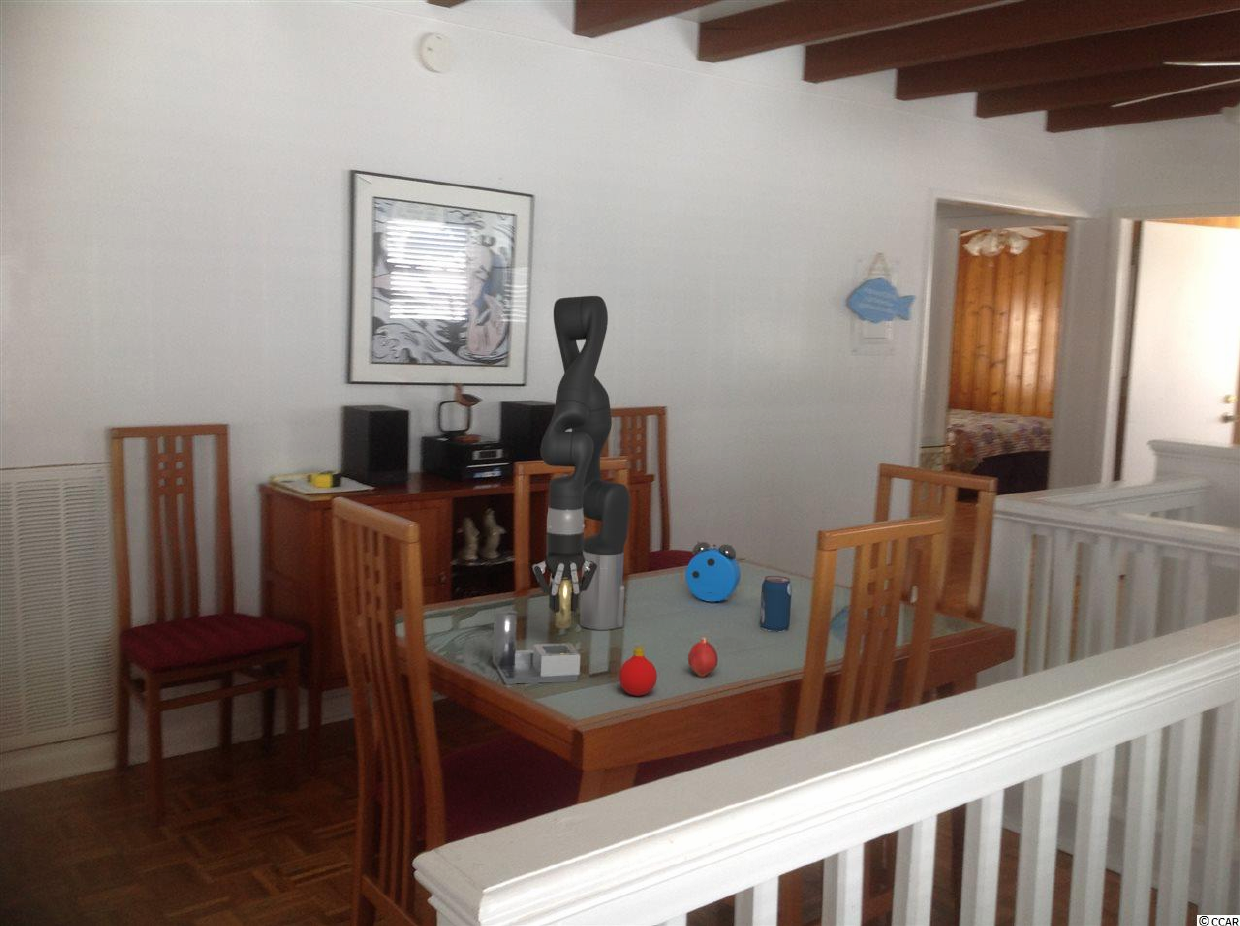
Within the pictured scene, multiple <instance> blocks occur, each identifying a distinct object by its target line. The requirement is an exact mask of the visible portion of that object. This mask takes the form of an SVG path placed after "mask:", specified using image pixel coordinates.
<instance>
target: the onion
mask: <svg viewBox="0 0 1240 926" xmlns="http://www.w3.org/2000/svg"><path fill="white" fill-rule="evenodd" d="M687 661H688V662H687V663H688V665H689V667H690V669H691V670H692V671H693V672H694V673H695V674H696V675H697V676H699V678H705V677H706V676H707V675H709V674H710V673H712V672H713V671H714V670H715V668H716V667H717V665H718V661H719V660H718V654H717V650H715V647H714V646H713V645H712V644H711V643H709V642H708V640H707V638H705V637H702V638H701V639H700V641H699V642H697V643H695V644H694V645H693V646H692V647H691V648H690V649H689V652H688V655H687Z"/></svg>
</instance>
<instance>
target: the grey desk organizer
mask: <svg viewBox="0 0 1240 926" xmlns="http://www.w3.org/2000/svg"><path fill="white" fill-rule="evenodd" d="M493 621H494V622H493V623H494V624H493V647H492V648H493V649H492V650H493V651H492V654H493V655H492V663H493V664H494V667H495V669H496V671H497V672H498V674H499V675H500V678H501V680H503V682H504V684H505V683H506V684H511V683H515V684H514V685H517V684H516V683H532V682H533V683H532V684H537V683H536V682H552V683H569V682H579V676H580V670H581V669H580V668H581V654H580V652H579V651H578V650H577V649H576V648H575V646H574V645H573V644H572V643H571V642H567V643H566V642H565V643H563V642H562V643H541V644H539V643H538V644H532V649H520V650H519V649H517V632H518V631H517V626H518V623H517V621H518V612H517V611H516V610H512V609H498V610H495V611H494V620H493ZM506 684H505V685H506Z"/></svg>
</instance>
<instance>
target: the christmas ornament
mask: <svg viewBox="0 0 1240 926" xmlns="http://www.w3.org/2000/svg"><path fill="white" fill-rule="evenodd" d="M638 644H642V647H637V645H638ZM644 646H645V645H644V643H642V641H641V642H636V644H635V647H634V648H633V655H632V656H631V657H630V658H628V659H627V660H625V661H624V663H622V665H621V666H620V668H619V671H618V681H619V684H620V686H621V688H622V690H624V691H625V692H626V693H628V694H629V695H632V696H636V697H637V696H644V695H646V694H649V692H651V691H652V690H653V688H654V687H655V685H656V683H657V679H658V677H657V676H658V673H657V670H656V669H657V668H656V667H655V666H654V664H653V662H651V660H650V659H648V658H647V657H646V656H645V648H644Z"/></svg>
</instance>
